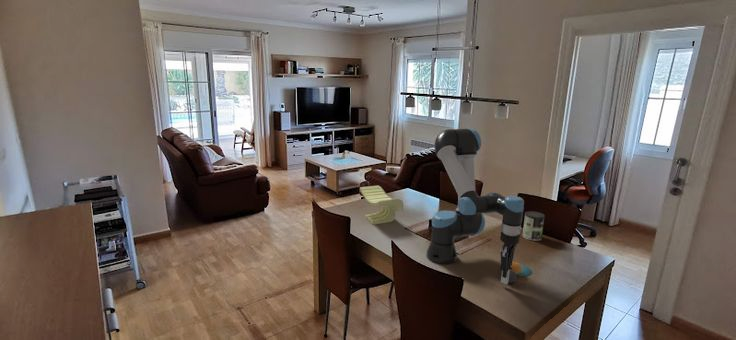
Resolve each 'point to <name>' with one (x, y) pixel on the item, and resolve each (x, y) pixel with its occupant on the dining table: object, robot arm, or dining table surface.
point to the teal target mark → (524, 271)
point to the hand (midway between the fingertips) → (504, 282)
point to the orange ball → (516, 267)
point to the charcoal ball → (512, 276)
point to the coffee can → (533, 225)
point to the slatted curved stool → (381, 204)
